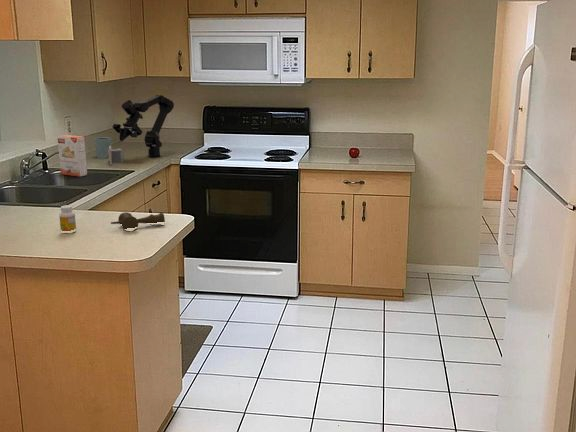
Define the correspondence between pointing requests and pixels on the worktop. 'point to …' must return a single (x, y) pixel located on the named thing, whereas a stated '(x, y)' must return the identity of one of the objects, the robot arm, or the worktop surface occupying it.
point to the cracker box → (72, 155)
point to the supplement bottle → (67, 218)
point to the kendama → (137, 220)
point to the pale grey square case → (110, 155)
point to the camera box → (117, 155)
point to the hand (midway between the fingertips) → (120, 140)
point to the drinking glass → (102, 147)
